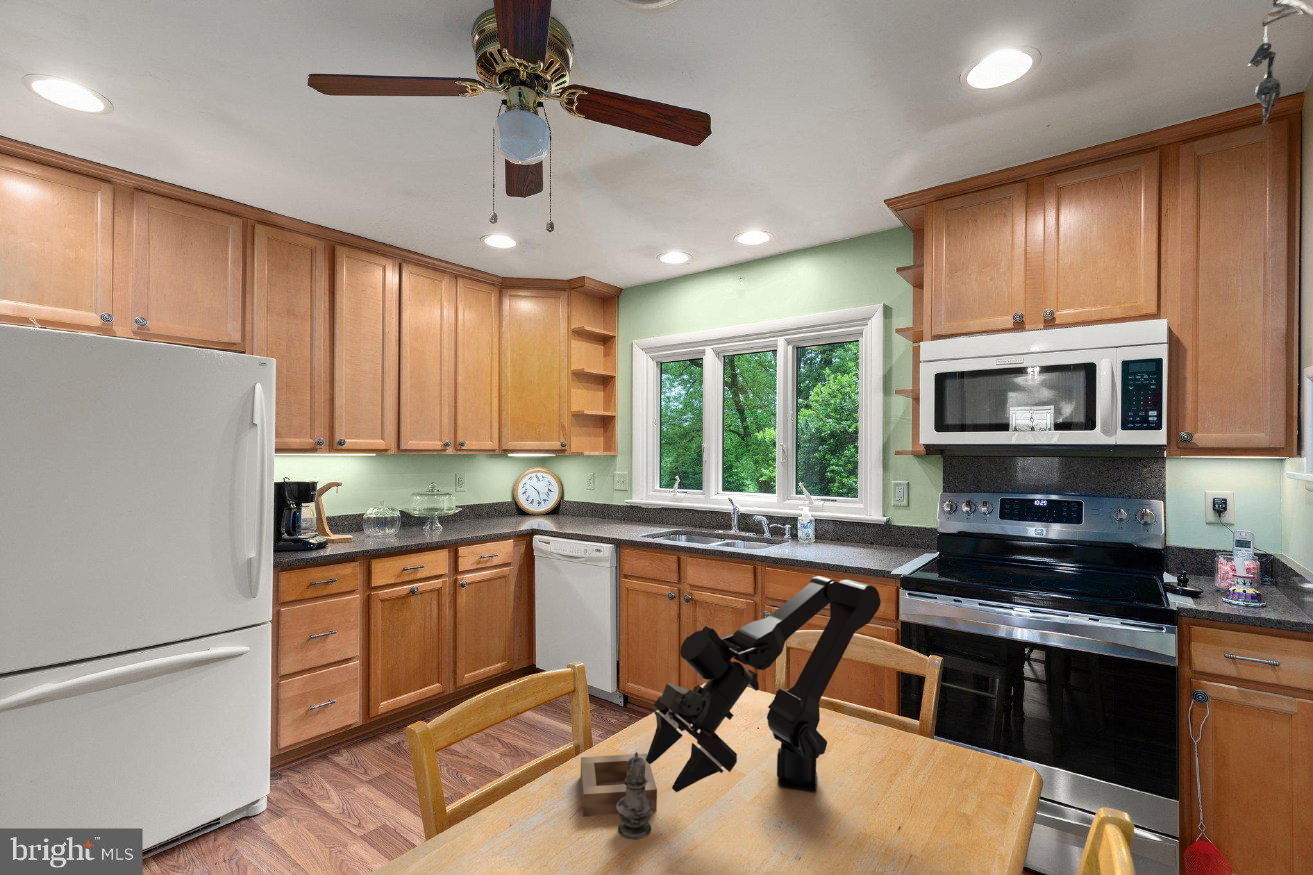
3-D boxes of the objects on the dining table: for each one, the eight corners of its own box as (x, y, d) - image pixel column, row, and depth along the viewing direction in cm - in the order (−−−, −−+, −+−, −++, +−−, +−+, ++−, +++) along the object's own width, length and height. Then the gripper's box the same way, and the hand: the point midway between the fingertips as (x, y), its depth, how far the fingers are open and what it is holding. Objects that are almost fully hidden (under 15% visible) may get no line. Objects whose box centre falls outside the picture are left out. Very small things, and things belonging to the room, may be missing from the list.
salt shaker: (658, 836, 97) (660, 758, 97) (621, 843, 95) (623, 763, 95) (647, 815, 102) (648, 741, 102) (611, 820, 100) (613, 745, 101)
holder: (646, 772, 115) (646, 753, 115) (656, 810, 103) (657, 789, 104) (580, 776, 113) (580, 757, 113) (583, 815, 102) (583, 794, 102)
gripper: (663, 648, 111) (605, 723, 106) (721, 686, 95) (655, 776, 90) (701, 685, 115) (646, 759, 110) (763, 728, 98) (702, 817, 93)
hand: (660, 775), depth 101 cm, fingers open, 9 cm apart
